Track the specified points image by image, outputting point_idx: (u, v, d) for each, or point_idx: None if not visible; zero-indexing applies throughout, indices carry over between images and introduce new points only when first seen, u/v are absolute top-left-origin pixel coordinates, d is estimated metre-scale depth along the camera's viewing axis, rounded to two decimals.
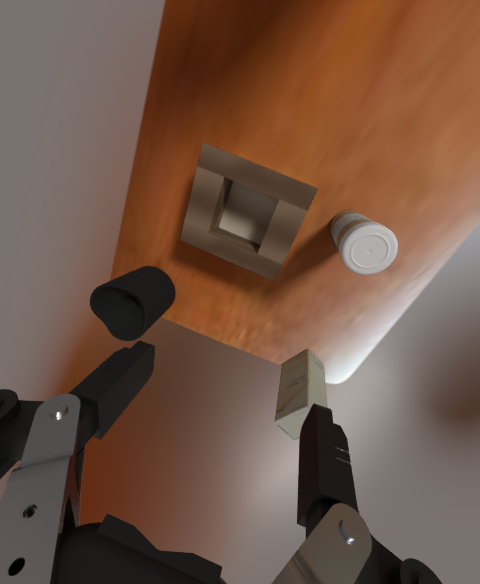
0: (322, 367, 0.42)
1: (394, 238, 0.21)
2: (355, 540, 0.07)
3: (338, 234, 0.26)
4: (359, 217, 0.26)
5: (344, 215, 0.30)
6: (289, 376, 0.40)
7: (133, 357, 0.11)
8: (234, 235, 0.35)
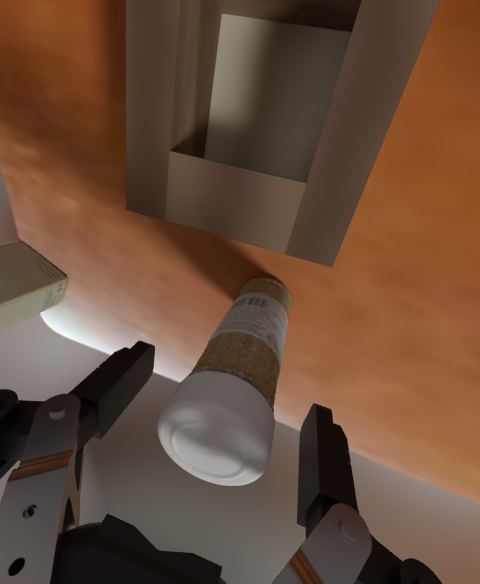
0: (49, 305, 0.26)
1: None
2: (355, 540, 0.07)
3: (244, 332, 0.13)
4: (281, 354, 0.14)
5: (282, 306, 0.17)
6: None
7: (133, 357, 0.11)
8: (208, 72, 0.14)
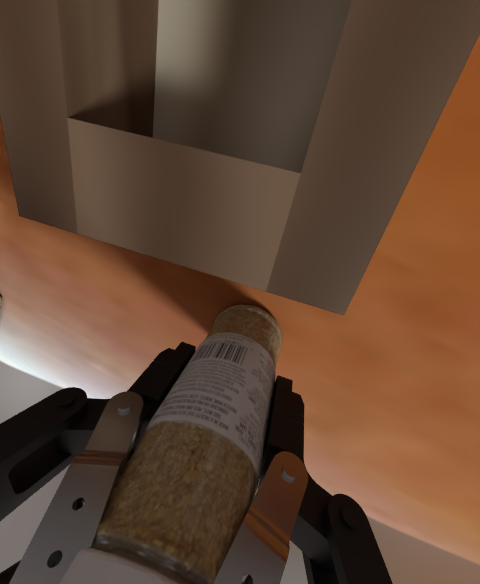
0: None
1: None
2: (293, 478, 0.08)
3: (198, 424, 0.08)
4: (262, 446, 0.09)
5: (268, 353, 0.12)
6: None
7: (180, 357, 0.11)
8: None
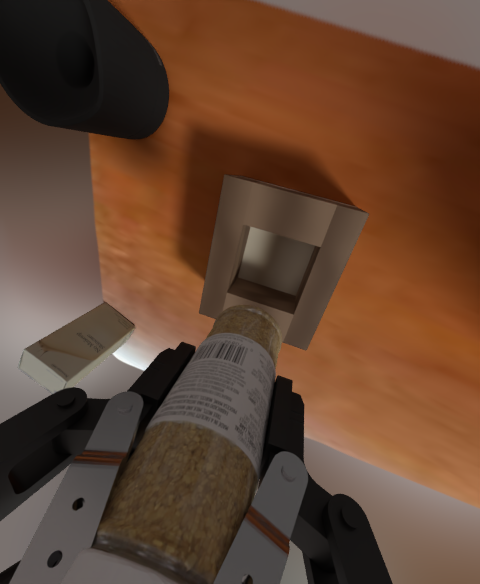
0: (121, 344, 0.39)
1: None
2: (293, 478, 0.08)
3: (197, 425, 0.08)
4: (262, 446, 0.09)
5: (268, 354, 0.12)
6: (93, 326, 0.34)
7: (180, 357, 0.11)
8: (245, 244, 0.26)
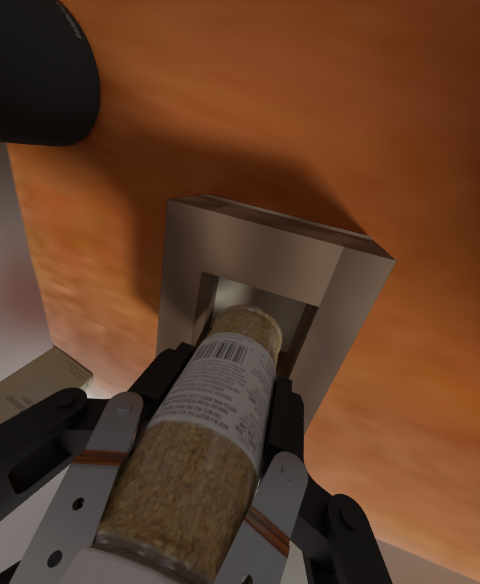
0: None
1: None
2: (293, 478, 0.08)
3: (198, 424, 0.08)
4: (262, 446, 0.09)
5: (268, 353, 0.12)
6: (32, 383, 0.27)
7: (180, 357, 0.11)
8: (214, 287, 0.19)
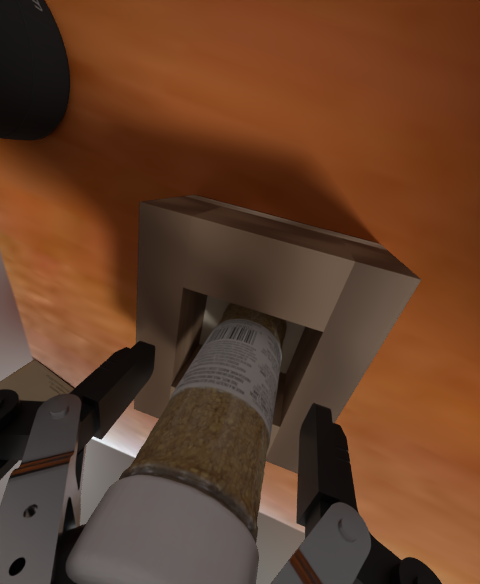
0: None
1: None
2: (354, 539, 0.07)
3: (218, 389, 0.09)
4: (272, 412, 0.10)
5: (274, 337, 0.13)
6: None
7: (134, 357, 0.11)
8: (203, 302, 0.17)
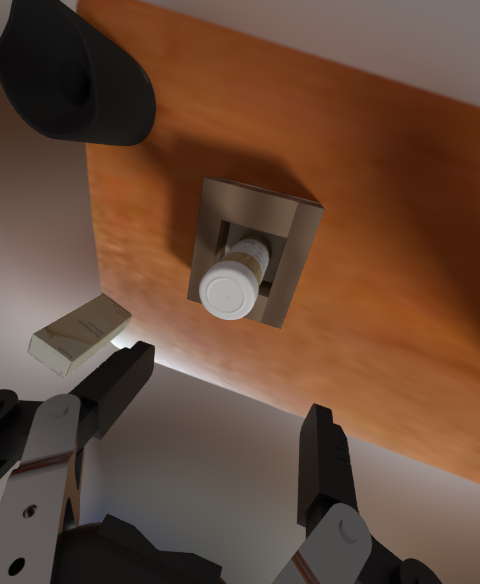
0: (119, 332, 0.42)
1: (243, 315, 0.19)
2: (355, 540, 0.07)
3: (241, 251, 0.22)
4: (263, 267, 0.23)
5: (265, 247, 0.27)
6: (93, 315, 0.37)
7: (133, 357, 0.11)
8: (226, 237, 0.30)
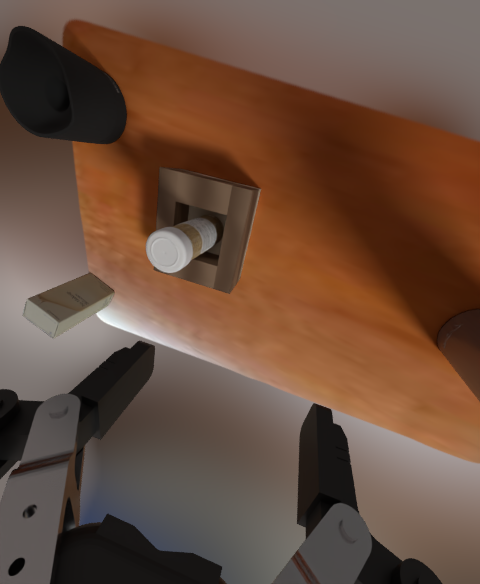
0: (104, 306, 0.48)
1: (179, 268, 0.25)
2: (355, 540, 0.07)
3: (185, 223, 0.28)
4: (205, 237, 0.30)
5: (213, 224, 0.33)
6: (80, 288, 0.44)
7: (133, 357, 0.11)
8: (185, 218, 0.36)
